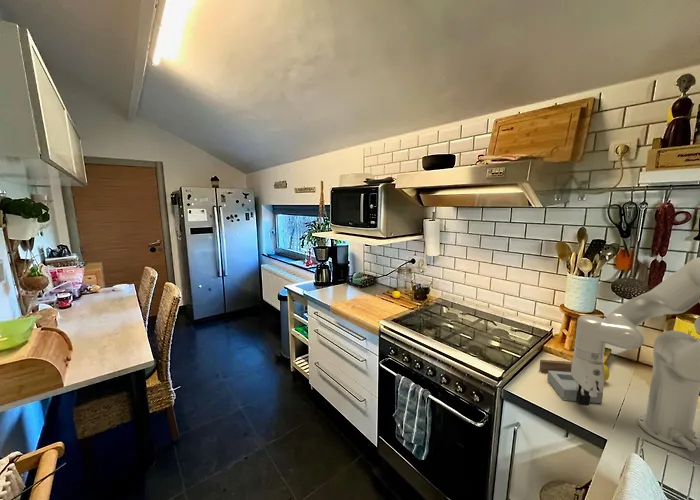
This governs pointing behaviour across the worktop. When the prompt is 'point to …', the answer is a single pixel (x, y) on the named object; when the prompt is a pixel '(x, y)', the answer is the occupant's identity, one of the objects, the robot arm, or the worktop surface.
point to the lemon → (606, 373)
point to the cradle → (568, 386)
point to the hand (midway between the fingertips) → (582, 403)
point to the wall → (554, 366)
